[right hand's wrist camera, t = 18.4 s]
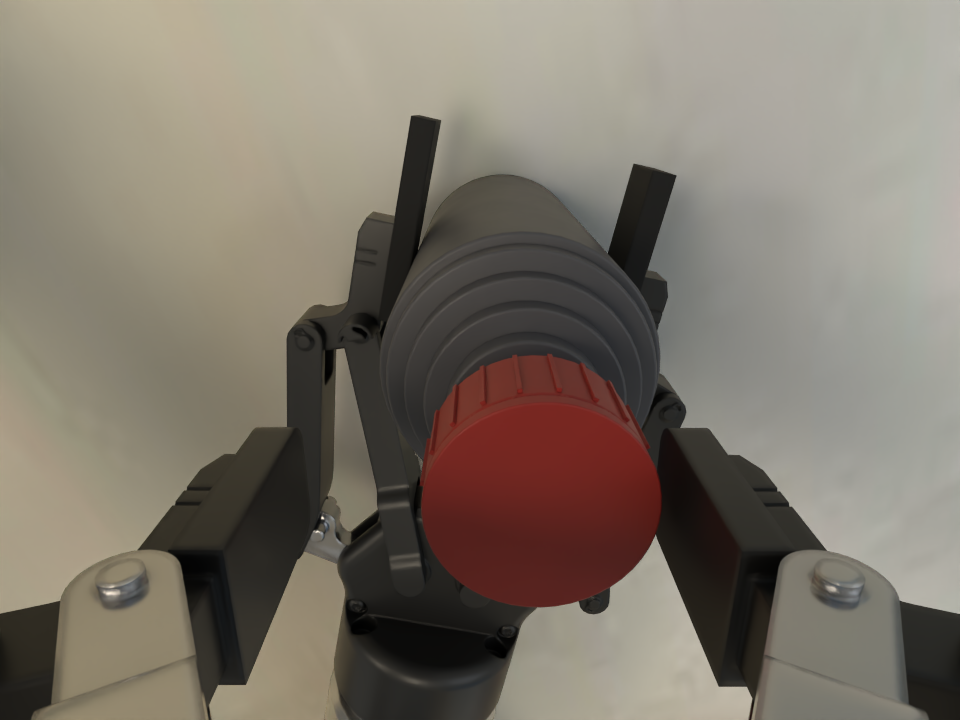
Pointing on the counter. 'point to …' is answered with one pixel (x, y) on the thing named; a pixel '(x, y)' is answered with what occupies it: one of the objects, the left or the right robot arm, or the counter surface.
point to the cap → (538, 483)
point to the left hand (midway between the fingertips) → (541, 145)
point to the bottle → (511, 303)
